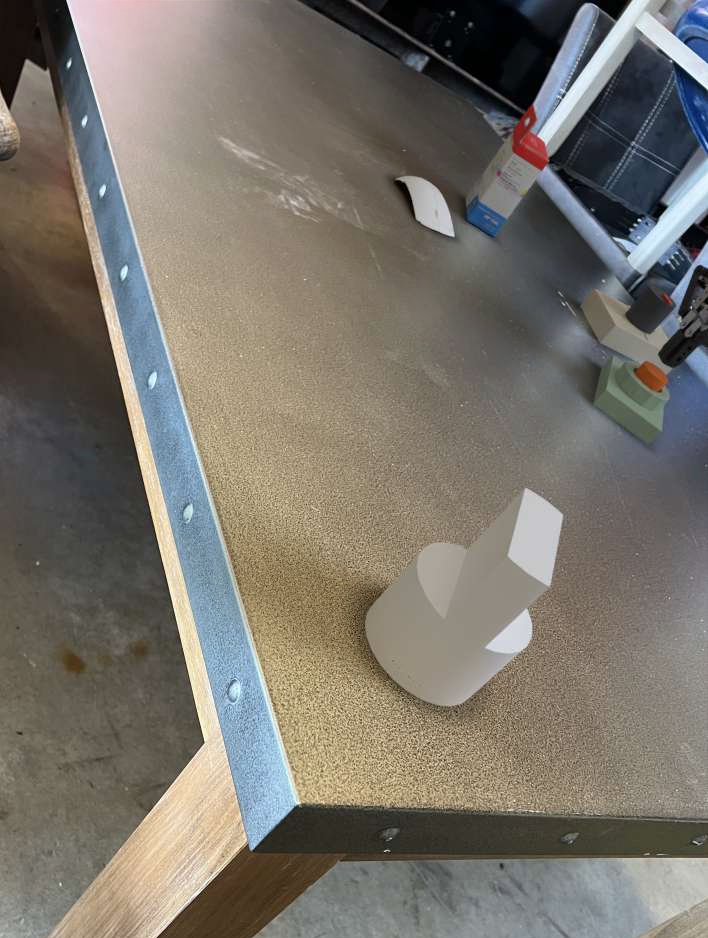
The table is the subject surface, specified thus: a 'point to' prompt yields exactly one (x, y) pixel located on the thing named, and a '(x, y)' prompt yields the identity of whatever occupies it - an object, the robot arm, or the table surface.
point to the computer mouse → (429, 205)
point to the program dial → (650, 309)
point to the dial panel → (622, 330)
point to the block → (630, 399)
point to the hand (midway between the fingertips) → (665, 361)
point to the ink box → (507, 177)
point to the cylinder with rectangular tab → (466, 605)
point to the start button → (651, 376)
